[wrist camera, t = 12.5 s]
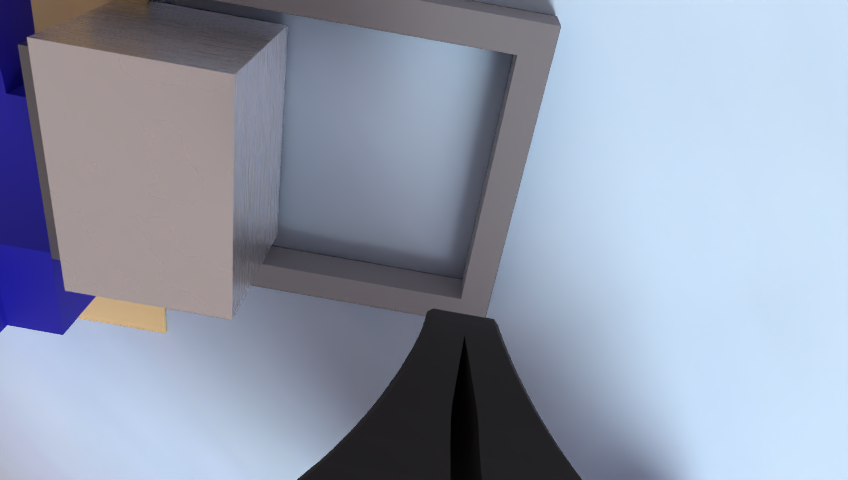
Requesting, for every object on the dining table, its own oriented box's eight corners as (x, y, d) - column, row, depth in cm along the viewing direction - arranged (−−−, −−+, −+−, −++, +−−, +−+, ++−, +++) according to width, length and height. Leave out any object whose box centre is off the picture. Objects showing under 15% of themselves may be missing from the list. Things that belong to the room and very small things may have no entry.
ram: (287, 25, 16) (235, 74, 13) (277, 235, 19) (231, 319, 16) (99, -9, 16) (-5, 31, 13) (119, 207, 19) (39, 286, 16)
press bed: (596, -139, 14) (603, -137, 13) (463, 383, 22) (462, 405, 21) (-199, -286, 14) (-243, -293, 13) (-48, 293, 22) (-70, 312, 21)
